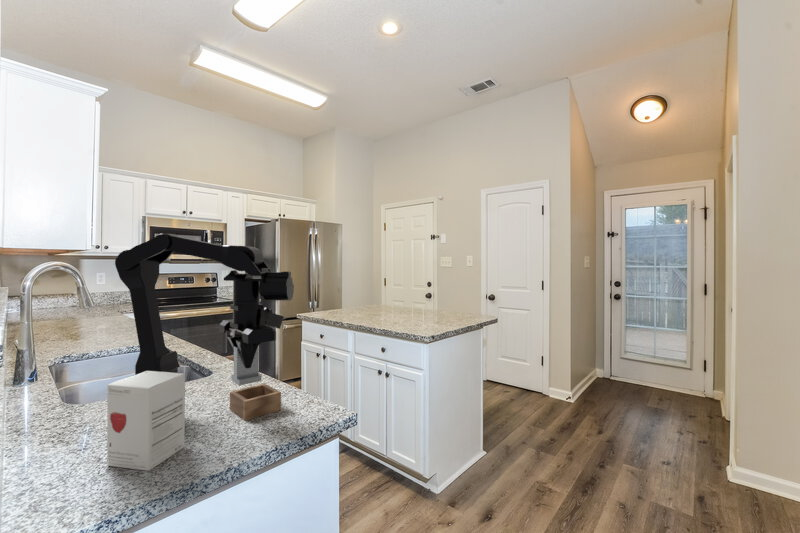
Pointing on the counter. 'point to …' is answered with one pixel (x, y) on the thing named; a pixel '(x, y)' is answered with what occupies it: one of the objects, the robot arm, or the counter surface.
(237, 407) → the square frame
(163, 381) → the supplement box
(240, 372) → the bracket
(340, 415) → the counter surface
